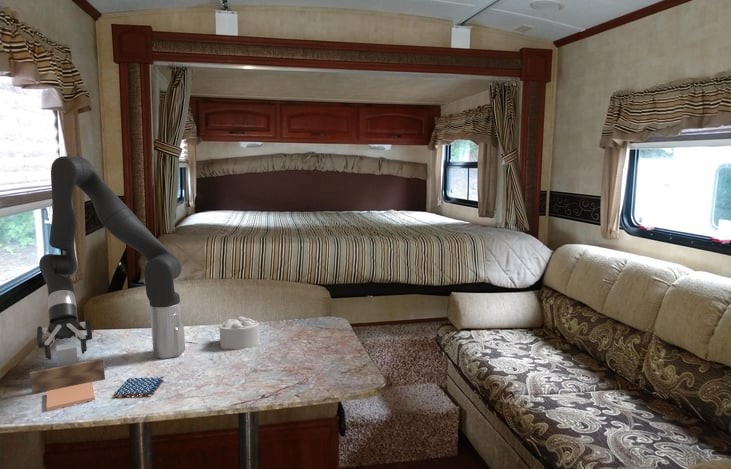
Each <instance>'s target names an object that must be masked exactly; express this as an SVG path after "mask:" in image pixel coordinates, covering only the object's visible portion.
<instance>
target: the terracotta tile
mask: <svg viewBox="0 0 731 469" xmlns="http://www.w3.org/2000/svg"><path fill="white" fill-rule="evenodd" d="M94 391H95V390H94V385H93V382H88V383H83V384H79V385H74V386H69V387H64V388H60V389H55V390H50V391H46V412H49V411H54V410H59V409H58V408H60V409H63V408H62V407H64V408H67V407H66V406H69V407H71V406H70V405H73V406H75V405H74V404H77V405H80V404H79V403H82V404H84V403H83V402H86V403H88V402H87V401H91V402H93V401H92V400H95V401H96V398H95V397H96V395H95V392H94Z"/></svg>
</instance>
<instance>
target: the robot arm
mask: <svg viewBox="0 0 731 469" xmlns="http://www.w3.org/2000/svg"><path fill="white" fill-rule="evenodd" d="M50 182H51V183H50V184H51V201H52V202H51V203H52V204H51V207H52V210H51V212H52V213H51V214H52V215H51V224H50V225H51V226H50V234H49V241H48V244H49V246H50V247H52V248H54V249H57V250H62V251H64V253H65V254H63V253H62V254H61V253H60V254H59V253H58V254H57V253H56V254H54V253H47V254H45V255H43V256H42V257H41V258H40V259H39V263H38V266H39V270H40V273H41V275H42V277H43V279H44V282H45V284H46V286H47V297H48V298H47V299H48V300H47V311H48V322H49V325H47V326H46V327H42V326H37V328H36V345H37V349H41V348H42V349H44V356H45V358H46V359H48V360H49V361H50V360H52V352H51V351H52V350H51V346H52V345H53V344H55V342H56V341H57V340H60V341H61V340H63V339H71V338H72V337H73V338H75V340H79V342H80V348H81V354H82V355H85V352H87V349H88V347H87V341H91V340H93V331H92V327H91V323H90V319H88V318H87V319H85V320H84V321H79V319H78V310H77V309H78V308H77V301H76V300H77V299H76V297H75V291H74V282H73V280H72V278H70V276H72V275H74V274H75V273H76V271H77V270H78V262H77V257H76V249H75V239H76V232H77V216H76V214H75V210H74V206H73V193H74V190H75V186H77V187H78V188H79V189H80V190H81V191H83V193H85V195H86V196H87V197H88V198H89V199H90V201H91V203H92V204H93V208H94V210H95V213H96V216H97V219H98V220H99V221H100V223H101V224H102V226H104V227H105V229H106V230H107V231H108V232H109V233H110V234H111V235H112V236H113V237H114V238H116V239H117V240H118V241H120V242H121V243H123V244H125V245H127V246H129V247H130V248H133V249H134V250H135V251H137V252H138V253H139V254H141V255H142V256H143V257H144V258H145V259H146V260H147V262H146V264H145V265H144V268H143V269H144V270H143V271H144V272H143V273H144V274H143V275H144V285H145V294H146V297H147V299H148V301H149V311H150V312H149V313H150V325H151V337H152V352H153V357H154V358H156V359H170V358H176V357H180V356H181V355H182V354H183V353H184V351H185V350H186V339H185V337H186V336H185V325H184V322H182V315H181V314H182V313H181V302H180V301H181V300H180V298H181V297H180V294H179V292H176V290H175V283H174V280H176V279H177V278H178V277H179V276H180V275H181V273H182V268H183V267H182V263H181V261H180V259H179V258H178V257H177V256H176V255H175V254H174V253H173V252H172V251H171V250H170V249H168V248H167V247H166V246H165V245H164V244H162V243H161V242H160V241H159V240H158V239H157V238H156V237H155V236H154V234H152V232H151V231H150V230H149V228H147V227H146V226H145V225H144V224H143V222H142V221H141V220H140V219H139V218H138V217H137V215H136V214H134V212H133V211H132V210H131V209H130V208H129V207H128V206H127V204H126V203H124V202H123V201H122V199H120V198H119V196H118V195H117V194H116V193H115V192H114V191H113V190H112V189H111V188H110V187H109V185H107V183H106V182H105V181H104V180H103V178H102V177H101V175H100V174H99V173H98V171H97V170H96V169H95V167H94V166H93V165H92V163H91V162H90V161H88V159H86V158H84V157H83V156H82V157H81V156H78V155H64V156H58V157H57V158H55V160H53V161H52V164H51V168H50ZM81 327H82V328H83V329H84V330H85V331H86V334H85V335H84V334H83V333H82V332H81V331H80V330H79V329H80V328H81ZM47 332H48V333H49V334H50V335H49V336H48V338H47V339H46V340H45V341H43V336H45V335H46V333H47Z"/></svg>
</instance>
